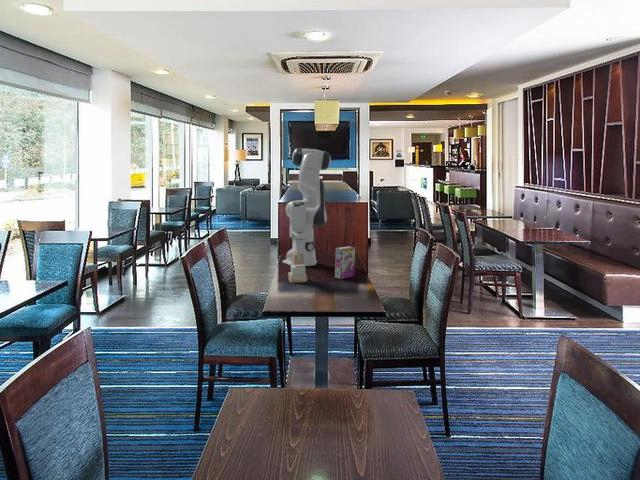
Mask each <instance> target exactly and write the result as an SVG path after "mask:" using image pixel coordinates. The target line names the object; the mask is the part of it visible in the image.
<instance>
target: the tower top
mask: <svg viewBox="0 0 640 480" xmlns="http://www.w3.org/2000/svg"><path fill="white" fill-rule="evenodd" d="M290 272H291V274H292V275H305V273H306V266H304V265H290Z"/></svg>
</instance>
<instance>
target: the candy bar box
mask: <svg viewBox="0 0 640 480" xmlns="http://www.w3.org/2000/svg"><path fill="white" fill-rule="evenodd" d="M334 250H335V251H334V254H335V255H334V256H335V257H334V258H335V259H334V261H335V262H334V266H335V267H334V279H338V280H345V279H348V278H353V277H355V276H356V275H355V271H356V266H355V265H356V247H355V246H341V247H336V248H335V249H334Z"/></svg>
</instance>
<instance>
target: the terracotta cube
mask: <svg viewBox="0 0 640 480" xmlns="http://www.w3.org/2000/svg"><path fill="white" fill-rule="evenodd" d="M293 263H294V264H304V254H301V261H297V253H293Z"/></svg>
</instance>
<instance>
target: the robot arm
mask: <svg viewBox="0 0 640 480" xmlns="http://www.w3.org/2000/svg"><path fill="white" fill-rule="evenodd" d="M291 160H292V164H293V165H294V166H296V167H299V171H298V173H299V174H298V185H297V189H298V192H300V193H301V194H302V199H300V200H293V201H290V202H288V203H287V204H286V206H285V214H286V216H287V218H289V222H290V223H289V224H290V225H289V238H291V241H292V248H291V249H289V250H288V251H287V252H286V258H285V259H283V260H282V261H281V262H282V263H284V264H287V265H289V266H291V265H304V266H305V267H310V266H316V265H317V263H318V260H316V250H315V240H314V235H315V234H314V231H315V230H314V227H317V228H318V227H319V228H322V227H323V226H325V224H326V223H327V221H328V216H327V215H328V214H327V205H326V204H327V203H326V192H325V191H326V190H325V188H326V187H325V184H324V181H323V180H321V177H320V172H321V171H324V170H325V171H326V170H328V168H329V167H330V165H331V162H332V158H331V154H330V152H328V151H326V150H323V151H322V150H320V149H315V148H302V147H297V148H295V149H294V151H293V152H292V154H291ZM293 253H297V261H301V254H304V264H294V263H293Z"/></svg>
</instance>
